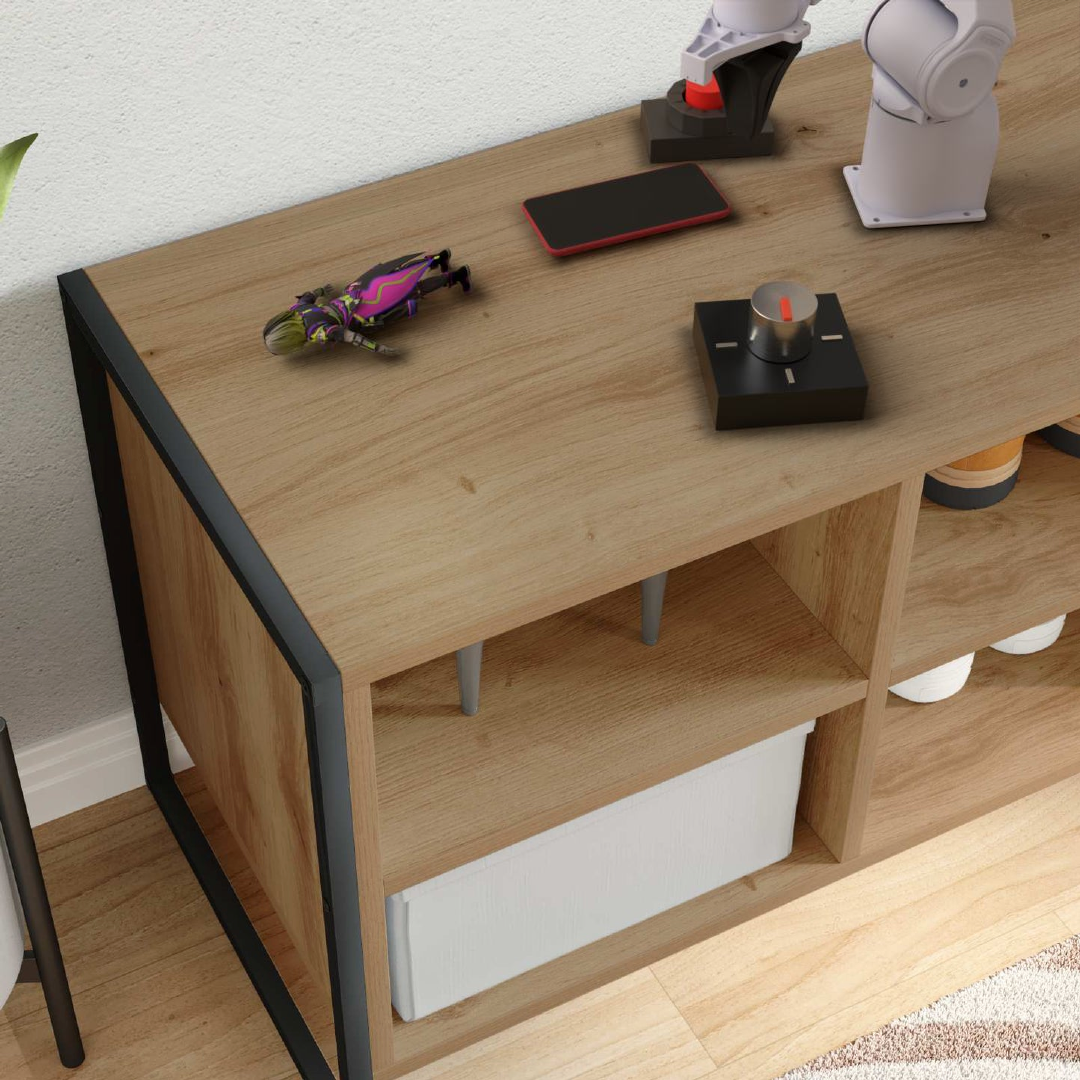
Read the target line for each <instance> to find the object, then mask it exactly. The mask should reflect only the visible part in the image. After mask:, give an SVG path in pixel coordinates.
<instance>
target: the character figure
mask: <svg viewBox="0 0 1080 1080" xmlns="http://www.w3.org/2000/svg"><path fill="white" fill-rule="evenodd" d="M431 251H432V249H427V250H425V251H420V252H415V253H411V254H410V253H409V254H405V255H403V256H401V257H397V258H395V259H392V260H389V261H386V262H383V263H381V262H380V263H377V264H376V265H374V266H372V267H370V268H369V269H368V270H367V271H365V272H364V273H362V275H360V276H359V277H358V278H356V279H355V280H354V281H353V282H351V283H349V284H347V285H346V286H345V287H344V289H343V290H342V293H341V294H340V296H339V297H337V298H335V299H333V297H331V296H332V295H334V294H335V291H334V290H335V288H333V285H332V284H331V283H327V284H325V285H323V286H320V287H317V288H316V289H313V290H311V291H309V290H308V291H304V292H303V293H302V294H301V295H295V296H294V298H295V299H297V302H295V303H294V304H293V305H291V306H290V307H289V308H288V309H287V310H284V311H281V312H280V313H278V314H276V315H275V316H274V317H271V319H270V320H268V321H267V323H266V324H265V326H264V328H263V330H262V336H263V340H264V341H263V342H264V343H263V344H264V345H265V347H266V348H267V350H268V352H269V353H271V354H272V355H274V356H286V355H289V354H292V353H295V352H298V351H301V350H303V349H307V348H308V346H305V345H306V344H307V343H308V340H309V342H310V343H317V344H320V345H323V346H326V345H327V343H328V342H331V343H333V344H332V346H331V349H333V348H334V347H335V346H336V345H337V344H342V343H343V344H345V342H347V343H348V342H349V343H350V344H352V345H354V346H357V347H360V348H364V349H367V350H369V351H371V352H373V353H380V354H382V355H385V356H396V355H397V354H399V353H400V350H397V349H398V348H397V347H393V348H391V347H387V346H385V345H382V344H380V343H379V344H378V343H377V342H375V341H372V340H370V339H368V338H366V337H365V336H363V335H362V334H360V332H363V334H368V333H369V334H370V333H378V332H382V331H385V326H388V325H390V324H393V323H396V322H399V321H400V320H403V319H405V318H408V319H412V318H414V317H415V316H416V315H417V314H419V301H420V300H423V301H427V300H429V297H426V296H429V294H431V293H434V292H436V291H438V290H440V289H441V288H446V287H447V290H450V289H451V288H452V287H456V286H458V285H460V286H461V288H462V291H463V294H466V295H467V294H472V293H473V290H474V284H473V280H472V275H471V268H470V266H469V265H468V264H467V263H466V264H463V265H462V266H460V267H458V269H456V270H454V271H451V264H450V260H451V258H452V251H451V249H450V248H449V247H446V248H444V249H442V250H441V251H440V252H438V253H434V254H427V255H424V257H423V258H418V259H416V258H417V257H419V256H422V255H423V254H426V253H429V252H431ZM439 268H440V272H441V273H442V274H440V275H434V276H429V277H426V278H424V279H421V278H422V277H423V275H424V273H425V272H426V271H427V270H428V269H429V271H428V273H430V272H431V271H432V270H437V269H439ZM322 297H323V298H325V299H326V300H329V301H330V300H331V301H330V302H329V304H325V303H318V304H316V302H317V299H319V298H322Z"/></svg>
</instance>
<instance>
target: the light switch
mask: <svg viewBox="0 0 1080 1080" xmlns="http://www.w3.org/2000/svg"><path fill="white" fill-rule="evenodd" d="M686 83H687V80H686V79H684V78H681V79H679V80H676V81H675V82H673V84H672V85H671V87H670V88H668V90H667V92H666V98H655V99H654V98H653V99H652V98H651V99H641V101H640V114H639V115H640V116H639V117H640V118H639V119H640V120H639V124H640V128H641V132H642V136H643V140H644V144H645V147H646V152H647V156H648V160H649V163H650V164H651V163H654V164H655V163H666V162H667V163H669V162H684V161H698V160H699V161H701V160H715V159H731V158H732V159H733V158H745V157H762V156H772V155H773V150H774V141H775V129H774V127H773V126H774V125H773V123H772V121H771V118H770V115H769V114H768V116H767V119H766V121H765V124H764V126H763V129H762V131H761V132H760V133H759V134H758V135H757V136H755V137H754V138H753V139H750V140H749V139H747V138H744V137H742V136H739V135H737V134H734V133H732V132H729V131H728V126H727V122H726V117H725V111H724V107H723V108H721V109H712V110H703V109H699V108H694V107H692V106H690V105H689V104H687V102H686Z"/></svg>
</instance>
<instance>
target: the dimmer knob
mask: <svg viewBox="0 0 1080 1080" xmlns="http://www.w3.org/2000/svg"><path fill="white" fill-rule="evenodd" d="M815 294H816V293H814V292H813V291H812V290H811V289H810V288H808V287H807V286H806V285H803V284H801V283H798V282H794V281H789V280H775V281H774V280H773V281H769V282H766V283H763V284H761V285H759V286H757V288H756V289H754V290H753V292H752V294H751V296H750V299H751V302H750V312H749V322H748V332H747V345H748V347H749V349H750V350H751V351H752V352H753V353H754V354H755V355H756V356H758V357H760V358H762V359H764V360H767V361H770V362H776V363H788V362H794V361H797V360H799V359H802V358H803V357H805V356H806V355H807V354H808V353H809V352H810V350H811V348H812V342H813V335H814V328H815V321H816V314H817V306H818V301H817V298H816V296H815Z"/></svg>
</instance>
